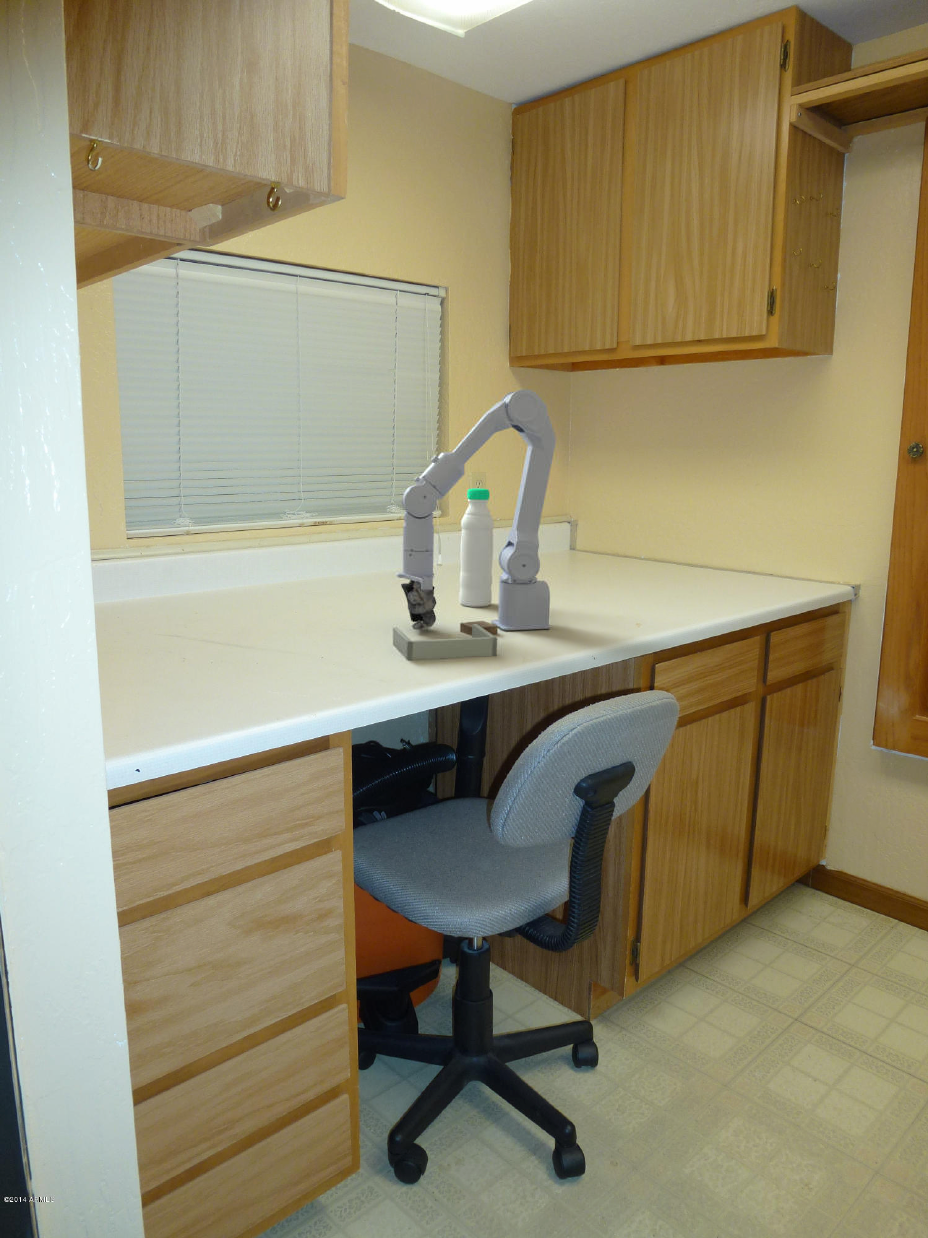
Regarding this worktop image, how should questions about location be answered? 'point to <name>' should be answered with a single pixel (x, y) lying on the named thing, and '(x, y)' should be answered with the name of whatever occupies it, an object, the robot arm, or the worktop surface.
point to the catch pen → (447, 645)
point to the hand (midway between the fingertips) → (417, 621)
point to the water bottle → (476, 551)
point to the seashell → (422, 606)
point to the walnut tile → (487, 626)
